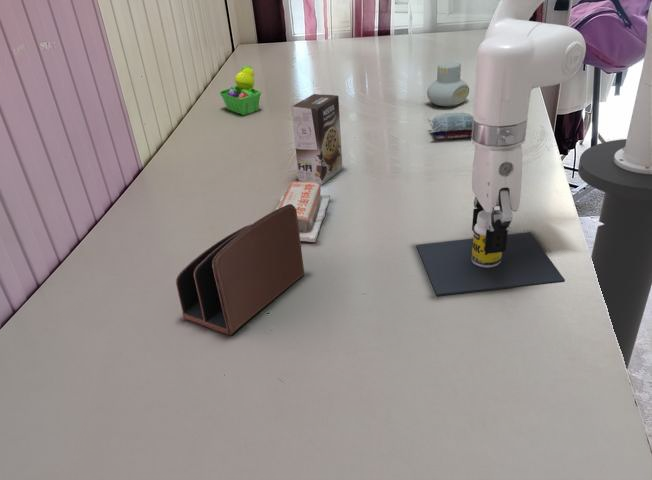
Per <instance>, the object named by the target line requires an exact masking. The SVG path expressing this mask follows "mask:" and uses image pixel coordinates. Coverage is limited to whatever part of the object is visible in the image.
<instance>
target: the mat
mask: <svg viewBox="0 0 652 480" xmlns="http://www.w3.org/2000/svg"><path fill="white" fill-rule="evenodd" d="M472 246H473V238H466V239H465V238H464V239H457V240H448V241H447V240H446V241H438V242H429V243H422V244H421V243H420V244H416V249H417V252H418V254H419V257H420V259H421V261H422V264H423V266H424V268H425V269H424V270H425V271H426V274H427V276H428V278H429V281H430V283H431V286H432V288H433V291H434V293H435V295H436V297H441V296H450V295H451V296H453V295H461V294H468V293H469V294H470V293H478V292H486V291H487V292H488V291H496V290H507V289H514V288H522V287H523V288H524V287H532V286H542V285H550V284H551V285H552V284H560V283H565V282H566V279H565V278H564V276H563V275H562V273H561V272H560V271H559V270H558V268H557V267H556V265H555V264H554V263H553V261H552V260H551V259H550V257H549V255H548V254H547V253H546V252H545V250H544V249H543V248H542V246H541V245H540V243H539V242H538V240H537V239H536V238H535V237H534V235H533V234H532V233H531V231H529V232H518V233H510V234H509V233H508V234H507V243H506V250H505V251H504V252H502V257H501V262H500V263H499V264H498V265H497V266H494V267H489V268H485V267H480V266H477V265H475V264H474V263H473V262H472Z"/></svg>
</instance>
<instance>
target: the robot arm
mask: <svg viewBox="0 0 652 480" xmlns="http://www.w3.org/2000/svg"><path fill="white" fill-rule="evenodd" d="M545 1H546V0H499V2H498V4H497V7H496V8H495V11H494V13H493V15H492V18H491V20H490V22H489V25H488V26H487V29H486V32H485V35H484V38H483V41H482V42H481V43H480V45H479V46H478V50H477V55H476V67H475V82H474V94H473V95H474V98H473V111H472V113H473V114H472V116H473V123H472V136H471V140H470V141H471V144H472V145H473V146H474V152H473V160H472V161H473V162H472V170H471V171H472V172H471V189H472V193H473V195H474V199H473V211H472V225H471V230H472V233H474V227H475V225H476V223H477V217H478V213H479V212H480V211H483V210H485V211H486V212H487V213H488V221H489V229H486V238H485V249H484V251H485V253H487V254H489V253H498V252H504V251H505V250H506V243H507V235H509V230H510V225H511V223H512V222H513V213H514V212H515V213H516V212H518V211H519V210H520V203H521V194H522V193H521V192H522V180H523V179H522V177H523V148H522V145H523V144H524V143H525V142H526V135H527V127H528V118H529V109H530V101H531V93H532V90H534V89H536V88H538V89H539V88H543V87H552V86H556V85H560V84H562V83H565V82H567V81H568V80H569V79H571V78H572V77H574V76H575V74H576V73H578V71H579V69H580V68H581V66H582V64H583V63H584V60H585V57H586V51H587V45H586V40H585V38H584V36H583V35H582V33H581V32H580V31H579V30H577V29H576V28H573V27H571V26H569V25H568V26H567V25H564V24H563V25H562V24H556V23H547V22H542V21H541V22H540V21H533V20H530V19H531V17H532V16H533V14H534V13H535V12H536V10H537V9H538V8H539V7H540V5H542V4H543V3H544V2H545ZM646 23H647V24H646V44H645V51H644V59H643V63H642V68H641V73H640V78H639V82H638V86H637V91H636V95H635V100H634V105H633V108H632V114H631V118H630V123H629V127H628V132H627V136H626V139H627V140H626V144H625V148H622V149H620V150H619V151H617V152H616V153H615V155H614V162H615V164H616V165H617V166H619V167H620V168H622V169H624V170H627V171H630V172H635V173H640V174H650V175H652V1H651V2H650V4H649V8H648V13H647V22H646ZM496 207H499V209H495V208H496ZM512 212H513V213H512ZM497 214H501V216H500V219H498V220H496V221H495V223H494V215H497Z"/></svg>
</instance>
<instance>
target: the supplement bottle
mask: <svg viewBox="0 0 652 480" xmlns="http://www.w3.org/2000/svg"><path fill="white" fill-rule="evenodd" d="M500 216H501V214H497V215H494V223H495V221H496V220H498V219H500ZM486 229H489V221H488V213H487V212H486V211H485V210H483V211H480V212H479V213H478V217H477V223H476V225H475V227H474V232H473V234H472V235H473V236H472V239H473V246H472V262H473V263H474V264H475V265H477V266H480V267H485V268H489V267H494V266H497V265H498V264H499V263H500V262H501V257H502V252H498V253H489V254H487V253H485V251H484V249H485V238H486Z"/></svg>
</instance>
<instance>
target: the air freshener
mask: <svg viewBox="0 0 652 480" xmlns="http://www.w3.org/2000/svg"><path fill="white" fill-rule="evenodd" d="M461 69H462V64H461V62H459V61H457V60H446V61H441V62H440V63H438V64H437V72H436V80H434V81H433V82H432V83H431V84H430V85H428V88H427V90H426V96H427V99H428V100H429V101H430V102H431V103H432V104H434V105H436V106H439V107H449V108H450V107H456V106H459V104H461V103H463V102H464V101H465V100H466V99H467V98H468V96H469V93H470V86H469V85H468V83H467V82H466V81H464V80H463V79H461V71H462V70H461Z"/></svg>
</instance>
